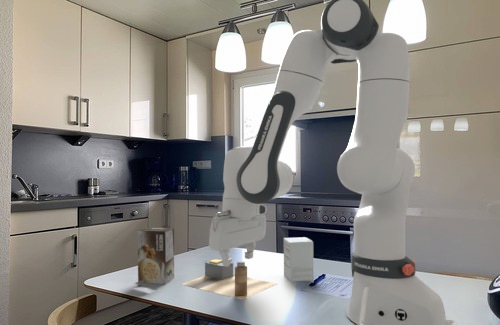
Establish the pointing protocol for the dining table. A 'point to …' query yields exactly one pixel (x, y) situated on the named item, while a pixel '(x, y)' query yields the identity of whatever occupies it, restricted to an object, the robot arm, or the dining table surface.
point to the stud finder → (218, 269)
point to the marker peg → (240, 279)
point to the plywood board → (228, 286)
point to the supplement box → (298, 259)
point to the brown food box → (156, 255)
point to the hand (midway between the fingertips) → (238, 261)
